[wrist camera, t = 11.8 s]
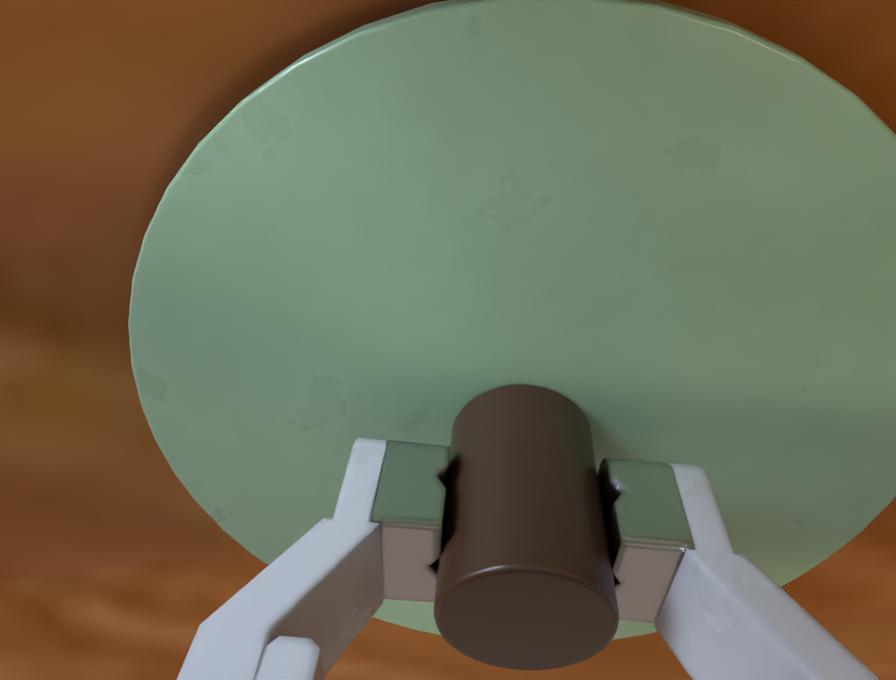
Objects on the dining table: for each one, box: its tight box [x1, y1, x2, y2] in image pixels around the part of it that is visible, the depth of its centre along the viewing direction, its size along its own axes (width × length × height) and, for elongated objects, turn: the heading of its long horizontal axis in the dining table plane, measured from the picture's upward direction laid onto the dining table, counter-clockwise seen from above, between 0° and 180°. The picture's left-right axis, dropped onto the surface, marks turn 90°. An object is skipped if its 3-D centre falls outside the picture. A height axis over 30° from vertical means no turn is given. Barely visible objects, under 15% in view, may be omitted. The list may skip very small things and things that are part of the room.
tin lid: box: [128, 0, 896, 670], centre depth 10 cm, size 14×14×5 cm
